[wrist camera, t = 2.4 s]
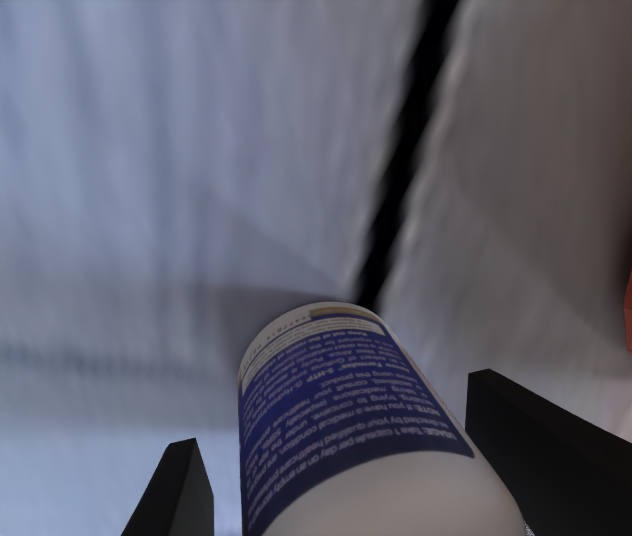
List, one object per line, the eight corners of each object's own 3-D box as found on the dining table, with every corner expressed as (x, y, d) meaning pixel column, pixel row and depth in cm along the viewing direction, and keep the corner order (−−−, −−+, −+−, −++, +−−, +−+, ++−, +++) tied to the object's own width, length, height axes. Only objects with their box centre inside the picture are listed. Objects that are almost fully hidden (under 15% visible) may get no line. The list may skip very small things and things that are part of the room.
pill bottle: (200, 381, 12) (133, 978, 4) (326, 262, 11) (581, 669, 3) (316, 457, 14) (436, 941, 6) (427, 361, 13) (735, 753, 5)
